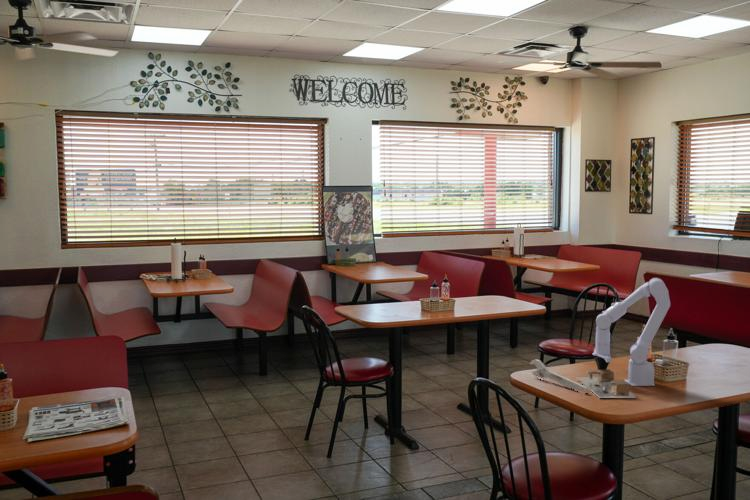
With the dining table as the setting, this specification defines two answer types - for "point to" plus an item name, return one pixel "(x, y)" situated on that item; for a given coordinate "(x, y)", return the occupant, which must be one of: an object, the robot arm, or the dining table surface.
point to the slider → (602, 374)
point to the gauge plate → (607, 388)
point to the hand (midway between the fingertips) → (601, 374)
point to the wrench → (556, 376)
